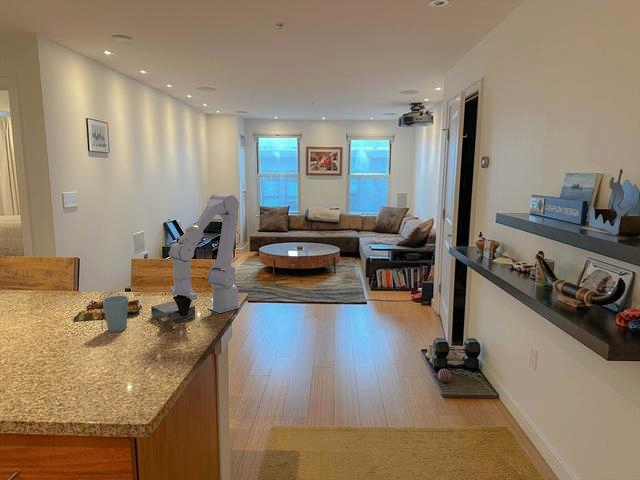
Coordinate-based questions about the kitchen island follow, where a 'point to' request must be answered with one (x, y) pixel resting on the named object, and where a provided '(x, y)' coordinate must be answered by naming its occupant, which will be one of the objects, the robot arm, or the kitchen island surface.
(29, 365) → the kitchen island surface
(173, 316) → the tray
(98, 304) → the crumpled patterned cloth
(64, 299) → the kitchen island surface
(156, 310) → the shiny gray metal block
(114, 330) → the cup
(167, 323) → the brown cardboard cube
